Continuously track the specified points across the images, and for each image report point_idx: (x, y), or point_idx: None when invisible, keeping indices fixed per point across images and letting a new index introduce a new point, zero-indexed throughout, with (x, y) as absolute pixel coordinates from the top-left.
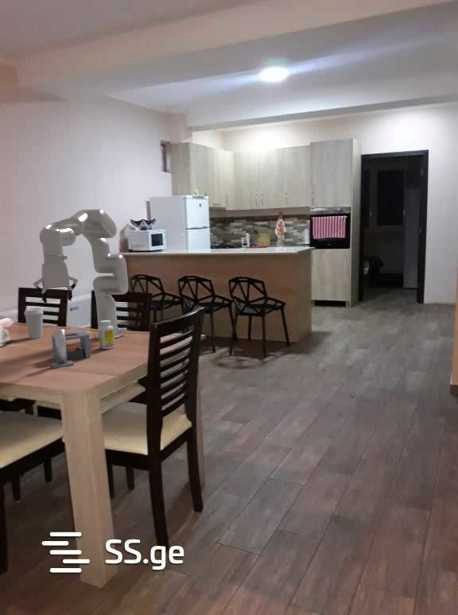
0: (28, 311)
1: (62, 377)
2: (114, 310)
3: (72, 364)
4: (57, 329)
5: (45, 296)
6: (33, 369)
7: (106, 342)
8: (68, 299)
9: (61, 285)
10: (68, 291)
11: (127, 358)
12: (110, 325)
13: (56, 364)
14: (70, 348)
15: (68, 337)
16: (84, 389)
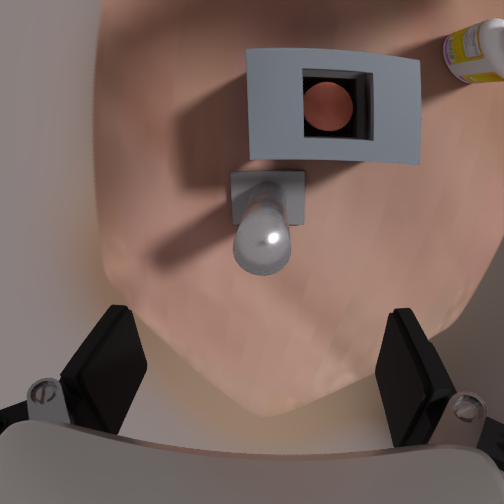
0: None
1: (243, 329)
2: None
3: (298, 223)
4: (253, 227)
5: (118, 415)
6: (170, 197)
7: (471, 78)
8: (386, 333)
9: None
10: (400, 438)
11: (461, 247)
12: None
13: (244, 206)
14: (322, 112)
15: (318, 156)
16: (270, 415)
